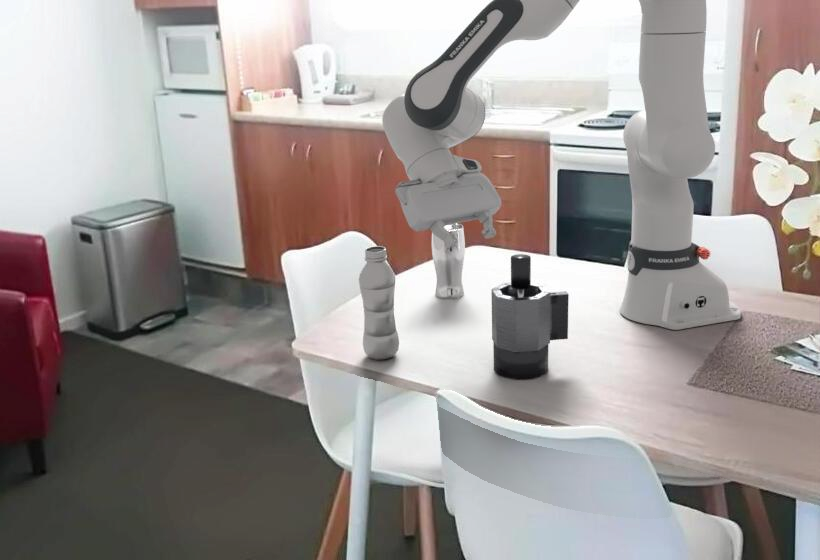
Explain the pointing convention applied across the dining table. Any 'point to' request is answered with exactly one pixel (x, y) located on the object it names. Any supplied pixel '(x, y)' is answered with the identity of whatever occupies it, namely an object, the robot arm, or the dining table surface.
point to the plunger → (520, 273)
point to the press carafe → (526, 329)
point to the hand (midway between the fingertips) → (472, 241)
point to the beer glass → (449, 264)
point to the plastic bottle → (378, 305)
